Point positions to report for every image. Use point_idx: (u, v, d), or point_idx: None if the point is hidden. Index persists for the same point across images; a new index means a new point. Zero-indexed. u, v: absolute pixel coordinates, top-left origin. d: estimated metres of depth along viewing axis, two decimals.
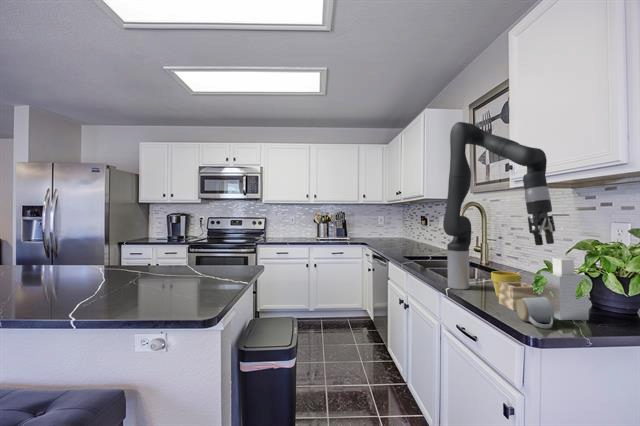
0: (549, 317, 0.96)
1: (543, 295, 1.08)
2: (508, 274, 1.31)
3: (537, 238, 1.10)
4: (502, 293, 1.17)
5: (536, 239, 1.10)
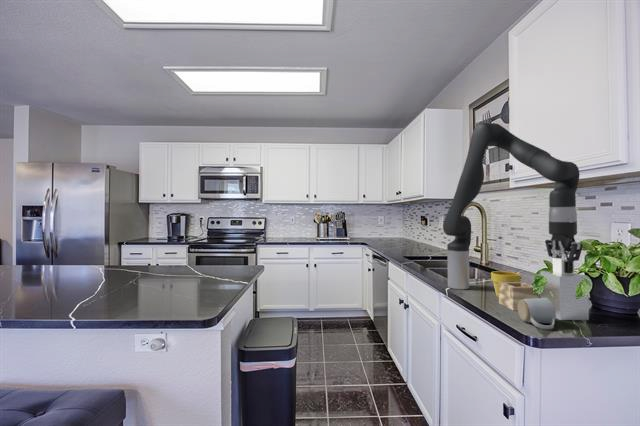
0: (551, 318, 0.95)
1: (543, 295, 1.08)
2: (508, 274, 1.31)
3: (571, 266, 1.01)
4: (502, 293, 1.17)
5: (570, 267, 1.01)
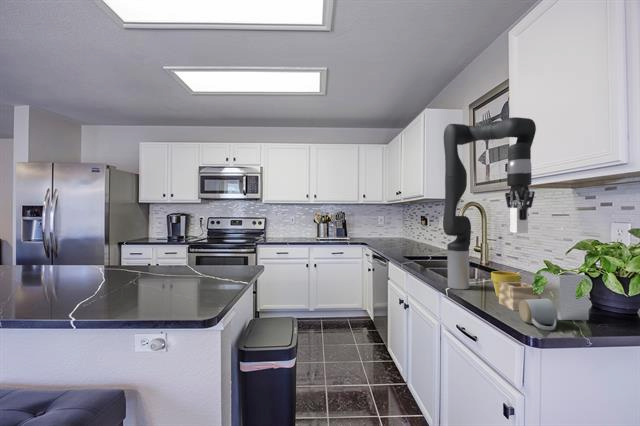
0: (552, 319, 0.94)
1: (543, 295, 1.08)
2: (508, 274, 1.31)
3: (525, 213, 1.11)
4: (502, 293, 1.17)
5: (524, 214, 1.11)
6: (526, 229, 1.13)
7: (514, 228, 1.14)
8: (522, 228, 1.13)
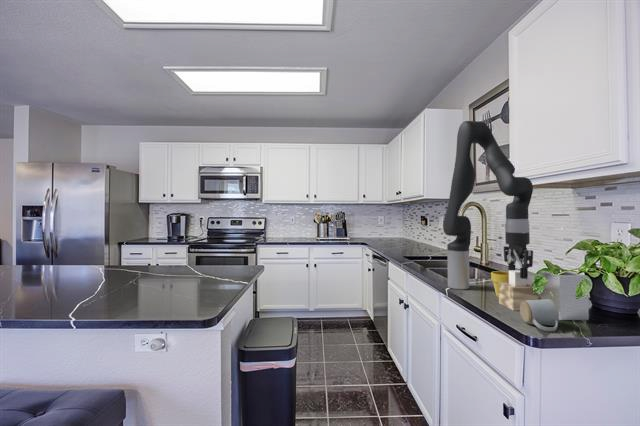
0: (554, 320, 0.93)
1: (543, 295, 1.08)
2: (508, 274, 1.31)
3: (526, 272, 1.10)
4: (502, 293, 1.17)
5: (525, 273, 1.10)
6: None
7: None
8: None
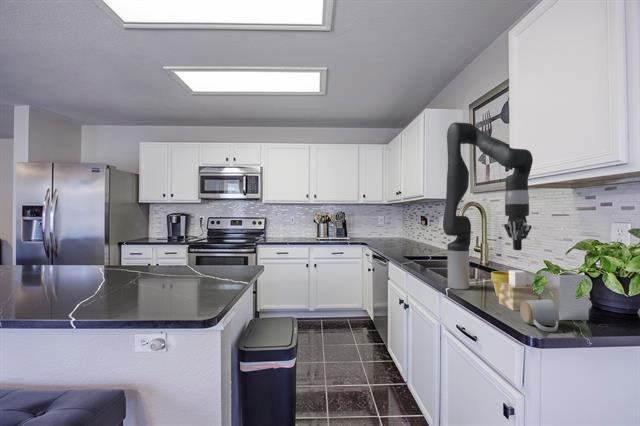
0: (554, 320, 0.93)
1: (543, 295, 1.08)
2: (508, 274, 1.31)
3: (520, 243, 1.13)
4: (502, 293, 1.17)
5: (519, 244, 1.13)
6: None
7: None
8: None
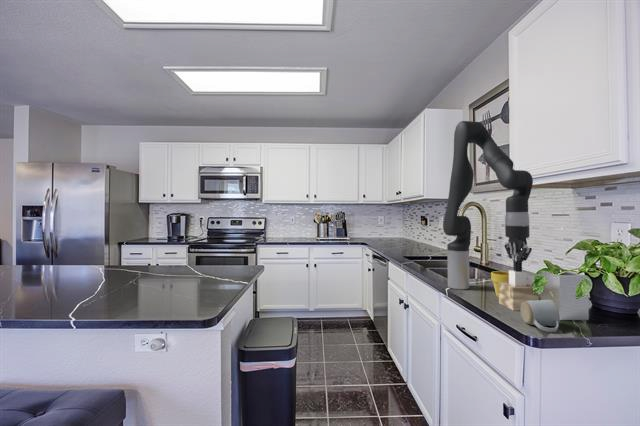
0: (554, 320, 0.93)
1: (543, 295, 1.08)
2: (508, 274, 1.31)
3: (520, 265, 1.13)
4: (502, 293, 1.17)
5: (519, 266, 1.13)
6: None
7: None
8: None
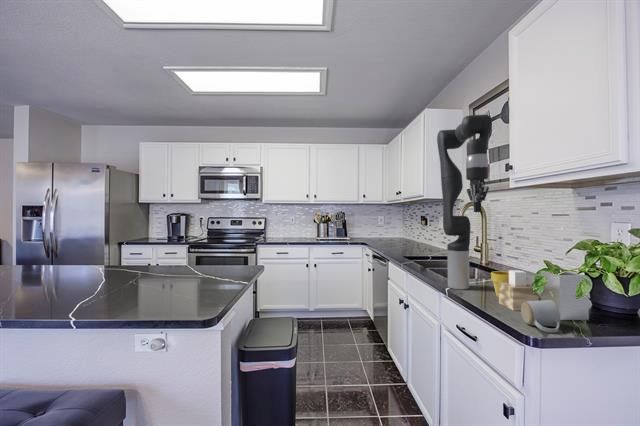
0: (555, 321, 0.92)
1: (543, 295, 1.08)
2: (508, 274, 1.31)
3: (479, 205, 1.19)
4: (502, 293, 1.17)
5: (478, 206, 1.19)
6: None
7: None
8: None
